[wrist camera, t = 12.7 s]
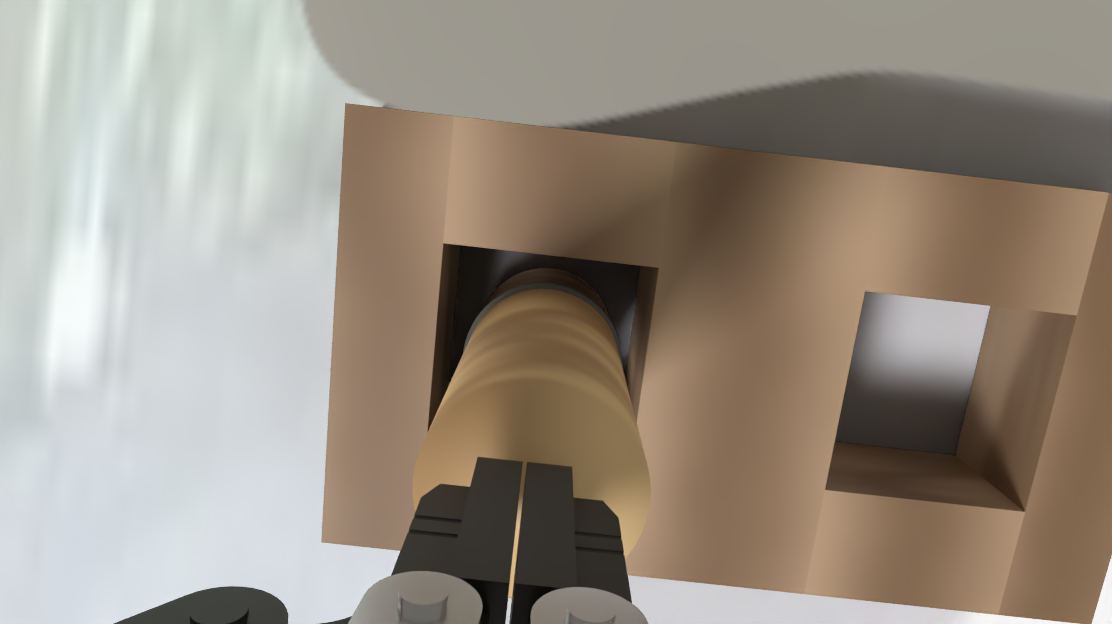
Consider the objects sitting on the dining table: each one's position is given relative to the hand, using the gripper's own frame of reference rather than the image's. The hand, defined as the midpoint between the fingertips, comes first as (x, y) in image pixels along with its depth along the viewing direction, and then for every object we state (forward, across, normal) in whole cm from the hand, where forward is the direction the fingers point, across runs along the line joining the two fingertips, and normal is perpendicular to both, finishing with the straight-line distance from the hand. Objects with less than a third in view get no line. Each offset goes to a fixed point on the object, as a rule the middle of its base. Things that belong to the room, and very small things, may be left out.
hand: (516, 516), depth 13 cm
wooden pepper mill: (+13, 0, 0) cm, 13 cm away
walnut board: (+13, -6, 0) cm, 14 cm away
